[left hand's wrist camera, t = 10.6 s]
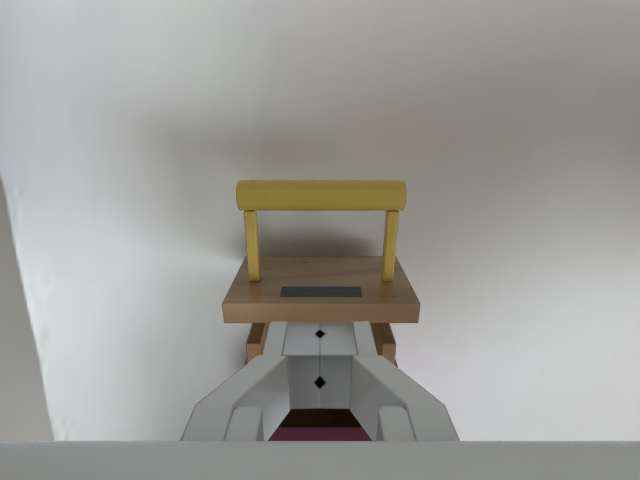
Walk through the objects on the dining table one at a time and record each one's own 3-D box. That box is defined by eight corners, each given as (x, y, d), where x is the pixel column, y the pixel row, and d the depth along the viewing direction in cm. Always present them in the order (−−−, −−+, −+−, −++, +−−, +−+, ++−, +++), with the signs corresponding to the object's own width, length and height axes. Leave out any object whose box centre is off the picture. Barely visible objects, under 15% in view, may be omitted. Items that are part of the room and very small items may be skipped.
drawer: (238, 169, 21) (208, 192, 16) (403, 169, 21) (434, 192, 16) (262, 452, 30) (248, 534, 24) (379, 452, 30) (393, 534, 24)
